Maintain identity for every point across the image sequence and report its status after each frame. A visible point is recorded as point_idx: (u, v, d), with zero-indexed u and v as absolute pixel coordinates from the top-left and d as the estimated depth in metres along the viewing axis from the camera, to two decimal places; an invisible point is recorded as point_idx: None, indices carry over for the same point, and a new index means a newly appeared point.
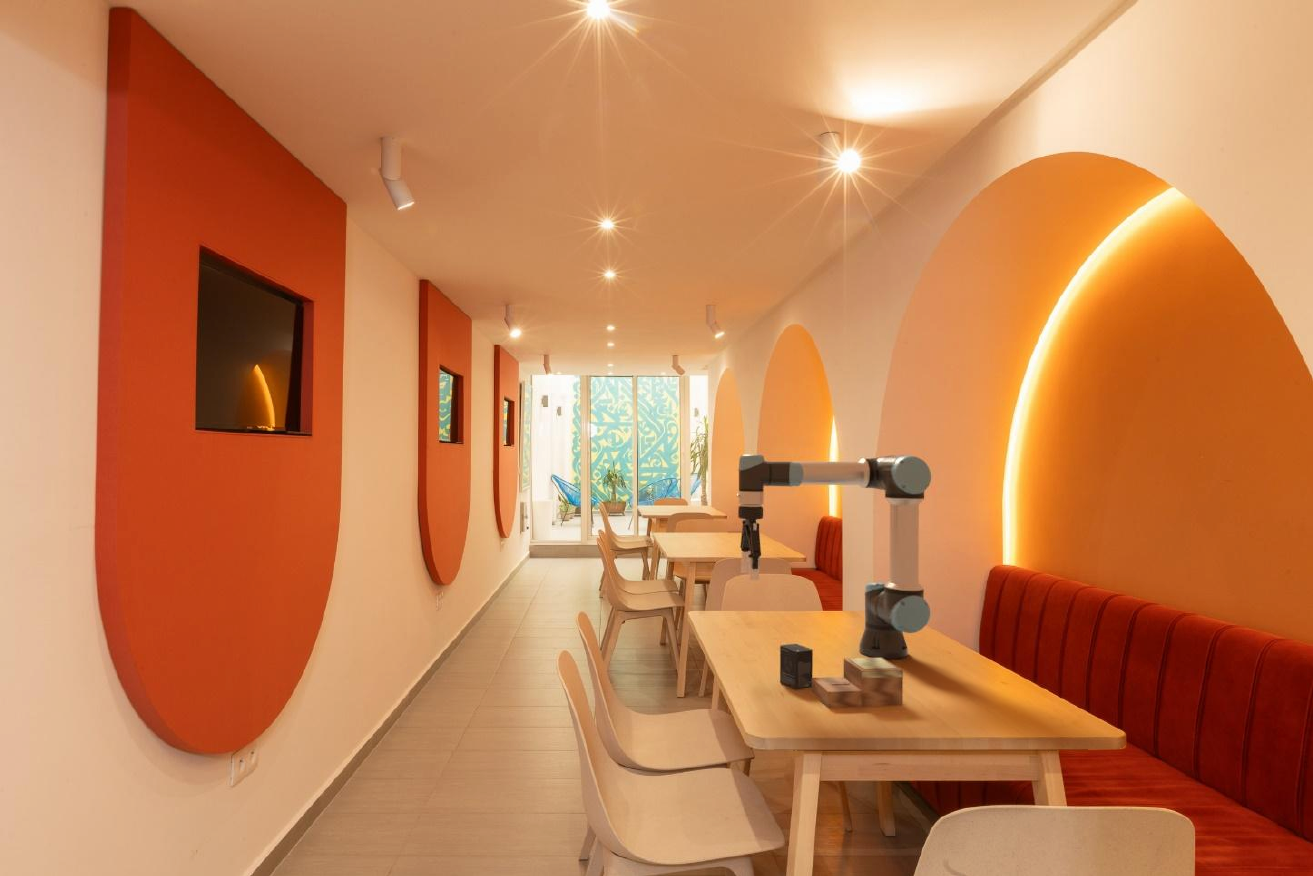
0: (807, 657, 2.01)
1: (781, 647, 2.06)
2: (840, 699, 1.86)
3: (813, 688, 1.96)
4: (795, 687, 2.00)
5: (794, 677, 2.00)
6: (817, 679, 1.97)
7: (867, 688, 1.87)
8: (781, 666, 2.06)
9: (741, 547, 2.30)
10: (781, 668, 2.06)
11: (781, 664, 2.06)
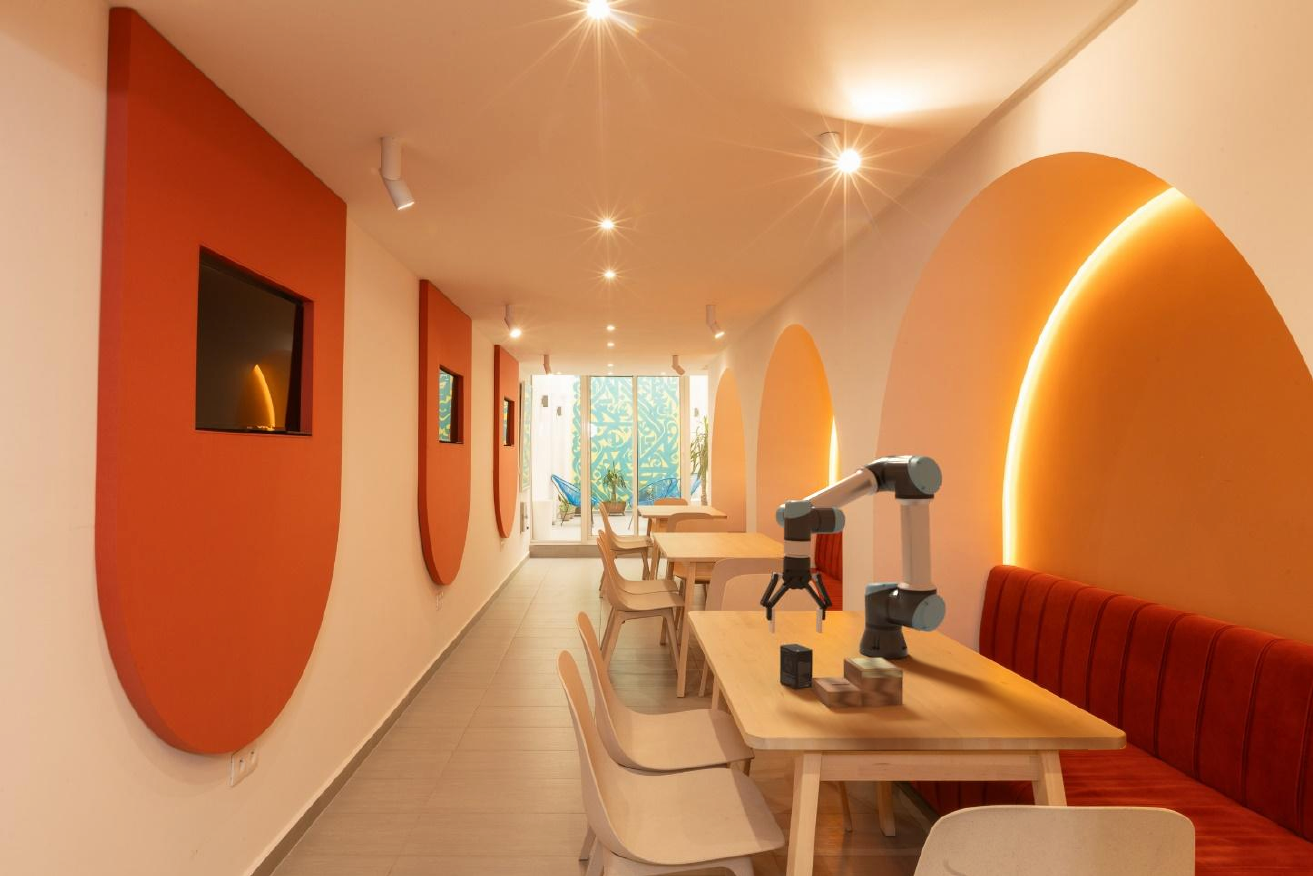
0: (807, 657, 2.01)
1: (781, 647, 2.06)
2: (840, 699, 1.86)
3: (813, 688, 1.96)
4: (795, 687, 2.00)
5: (794, 677, 2.00)
6: (817, 679, 1.97)
7: (867, 688, 1.87)
8: (781, 666, 2.06)
9: None
10: (781, 668, 2.06)
11: (781, 664, 2.06)
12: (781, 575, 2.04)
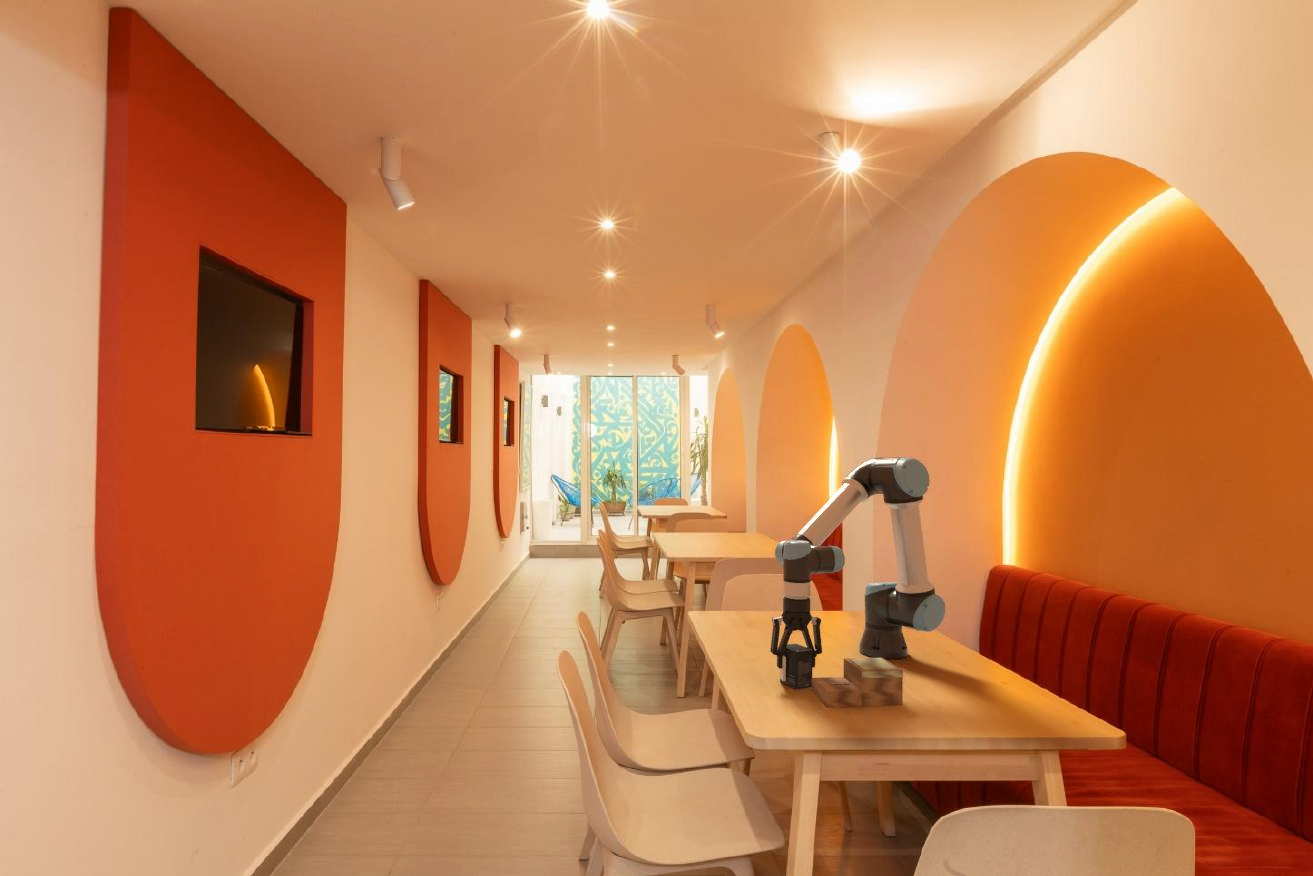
0: (806, 657, 2.01)
1: None
2: (840, 699, 1.86)
3: (813, 688, 1.96)
4: (795, 687, 2.00)
5: (794, 677, 2.00)
6: (817, 679, 1.97)
7: (867, 688, 1.87)
8: None
9: (815, 650, 2.06)
10: None
11: None
12: (781, 618, 2.04)
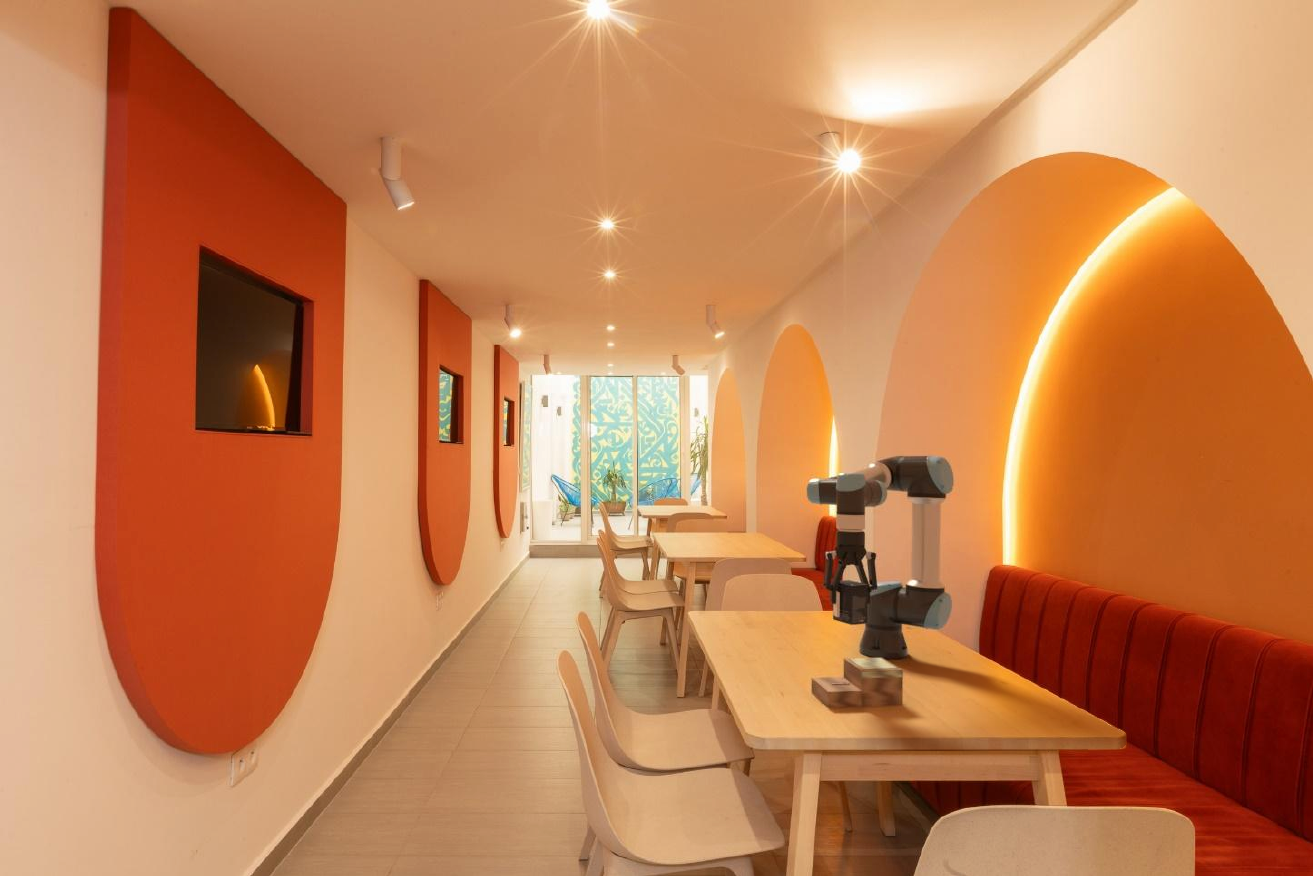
0: (861, 591, 1.94)
1: None
2: (840, 699, 1.86)
3: (813, 688, 1.96)
4: (850, 622, 1.93)
5: (848, 612, 1.93)
6: (817, 679, 1.97)
7: (867, 688, 1.87)
8: None
9: None
10: None
11: None
12: (834, 552, 1.97)
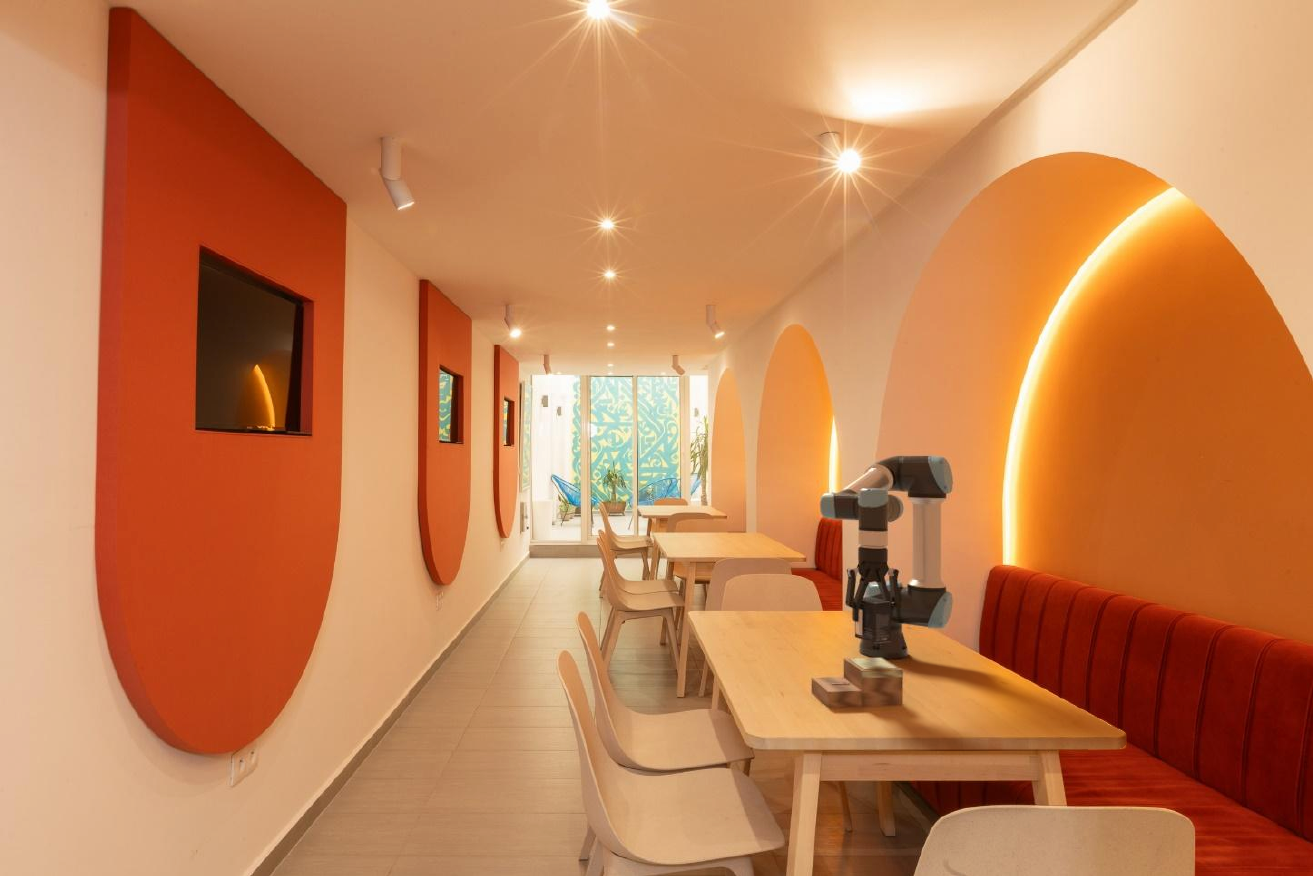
0: (885, 609, 1.91)
1: None
2: (840, 699, 1.86)
3: (813, 688, 1.96)
4: (873, 640, 1.90)
5: (872, 630, 1.90)
6: (817, 679, 1.97)
7: (867, 688, 1.87)
8: None
9: None
10: None
11: None
12: (857, 569, 1.94)
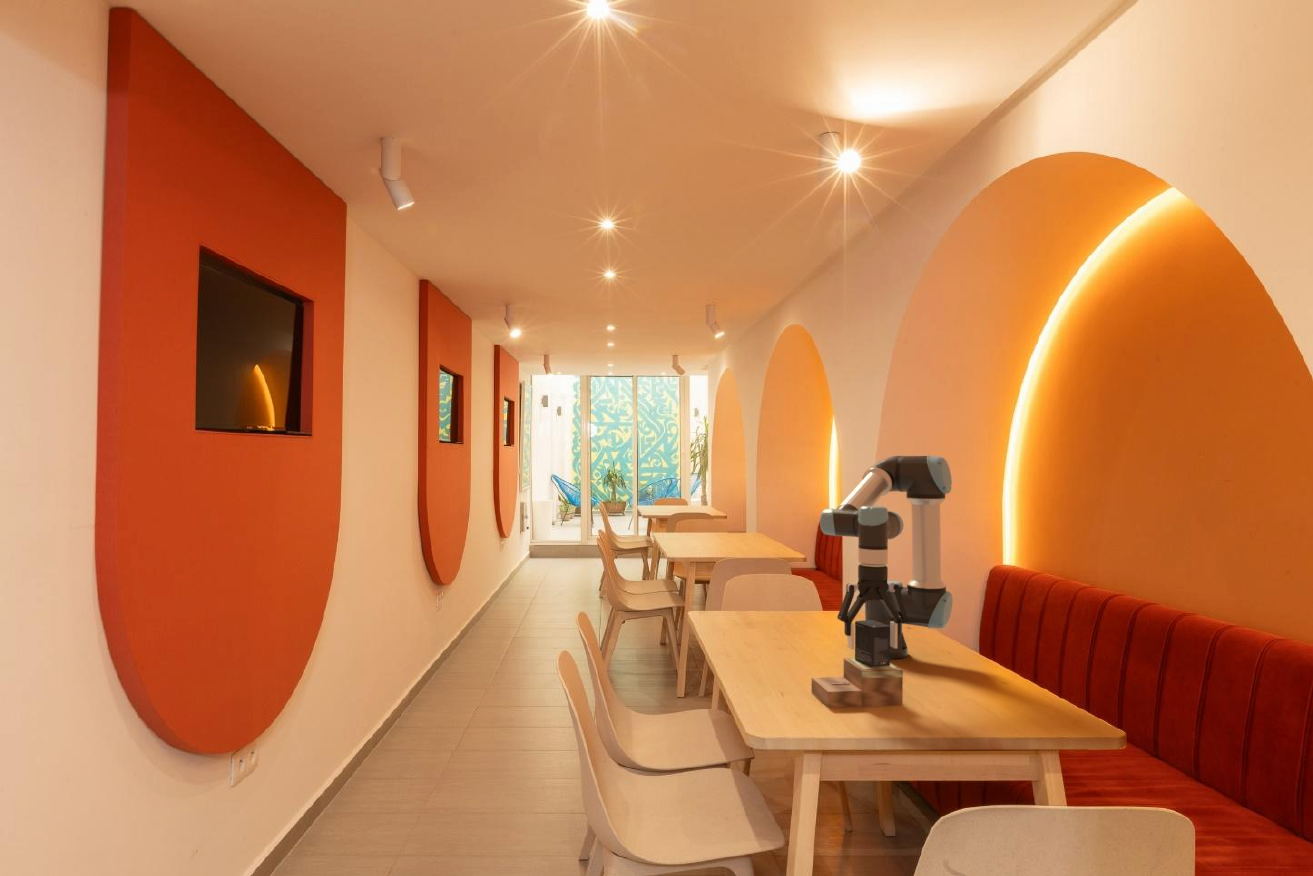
0: (884, 633, 1.91)
1: (856, 623, 1.96)
2: (840, 699, 1.86)
3: (813, 688, 1.96)
4: (871, 664, 1.90)
5: (870, 653, 1.90)
6: (817, 679, 1.97)
7: (867, 688, 1.87)
8: (856, 643, 1.96)
9: None
10: (856, 645, 1.96)
11: (856, 641, 1.96)
12: (857, 586, 1.93)
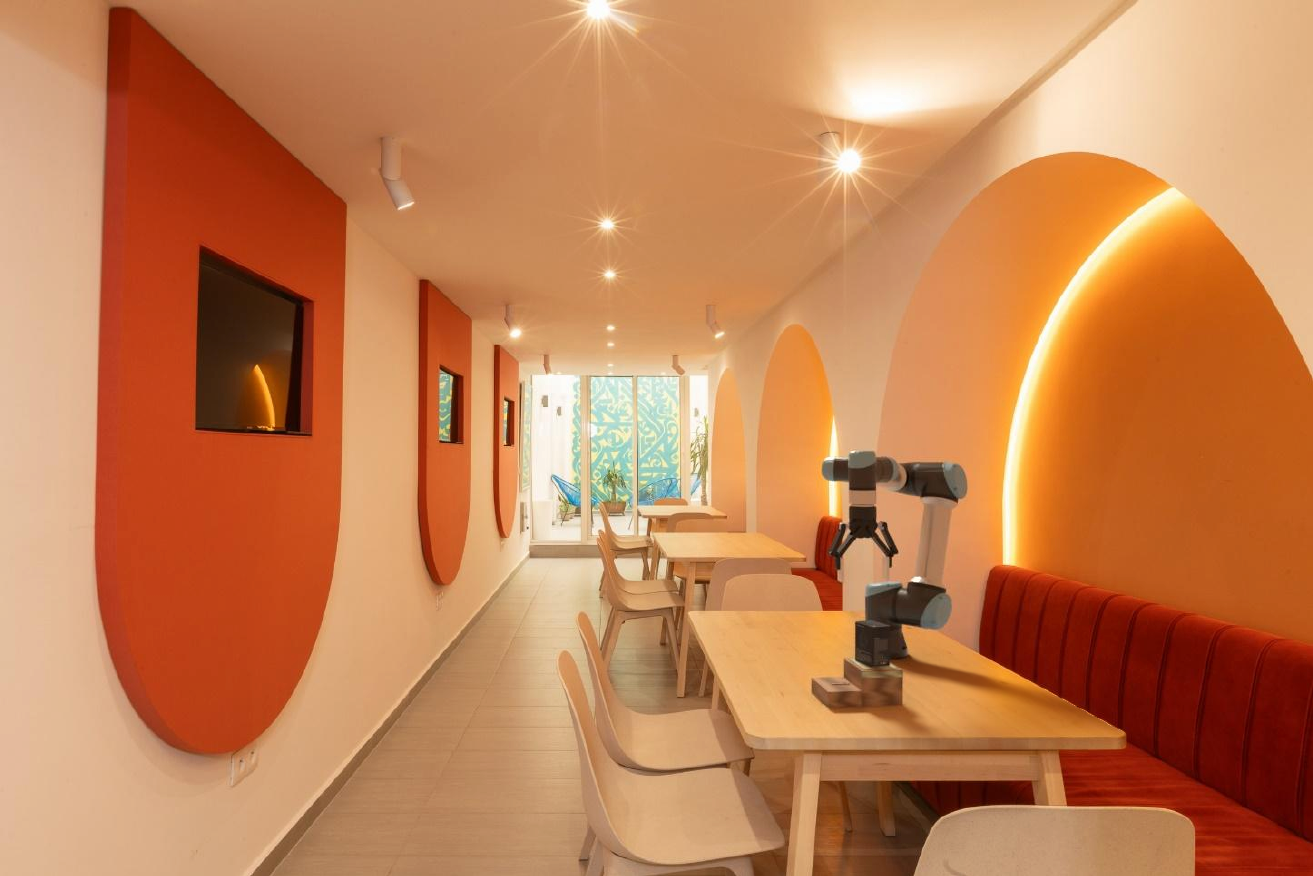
0: (884, 633, 1.91)
1: (856, 623, 1.96)
2: (840, 699, 1.86)
3: (813, 688, 1.96)
4: (871, 664, 1.90)
5: (870, 653, 1.90)
6: (817, 679, 1.97)
7: (867, 688, 1.87)
8: (856, 643, 1.96)
9: None
10: (856, 645, 1.96)
11: (856, 641, 1.96)
12: (848, 525, 2.06)
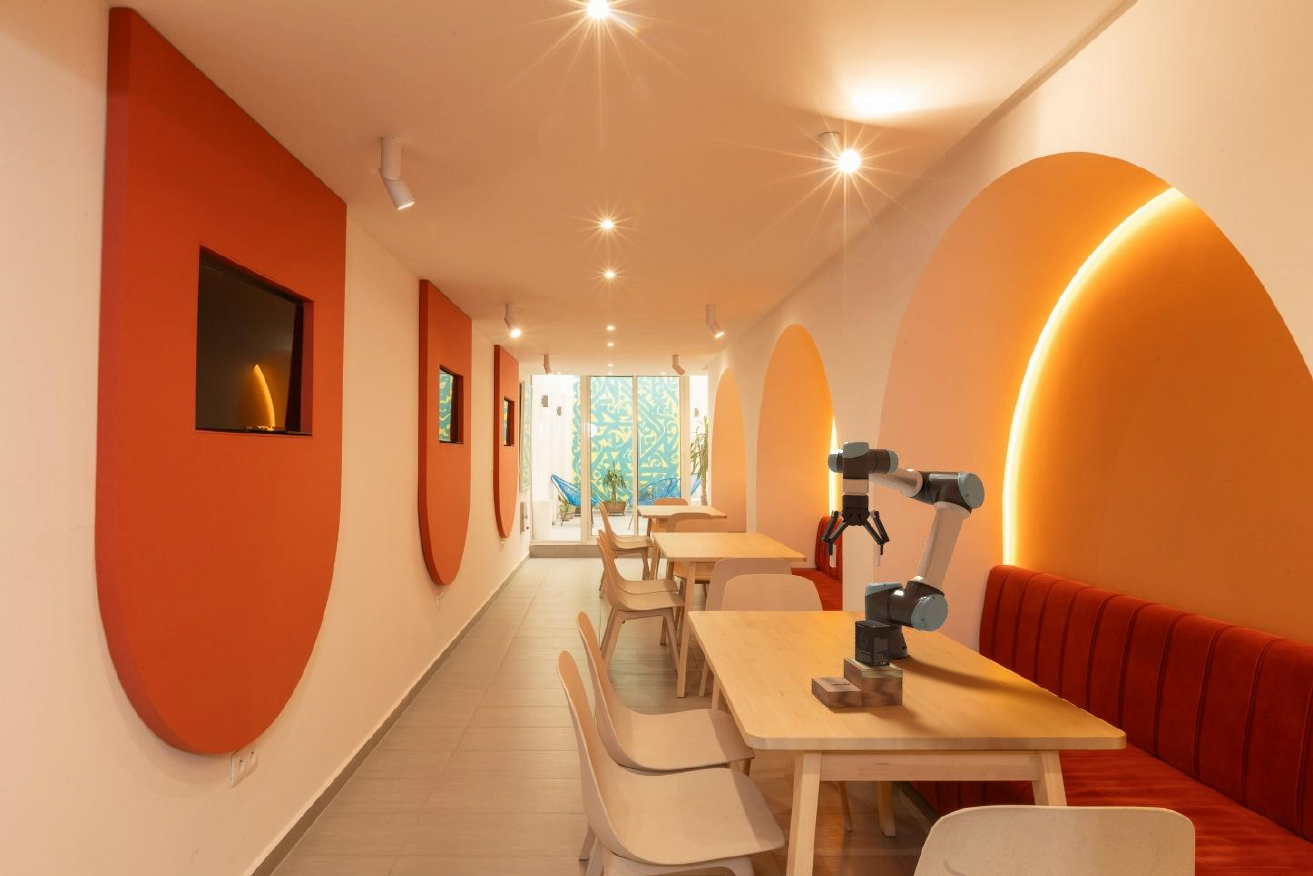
0: (884, 633, 1.91)
1: (856, 623, 1.96)
2: (840, 699, 1.86)
3: (813, 688, 1.96)
4: (871, 664, 1.90)
5: (870, 653, 1.90)
6: (817, 679, 1.97)
7: (867, 688, 1.87)
8: (856, 643, 1.96)
9: None
10: (856, 645, 1.96)
11: (856, 641, 1.96)
12: (841, 512, 2.14)
